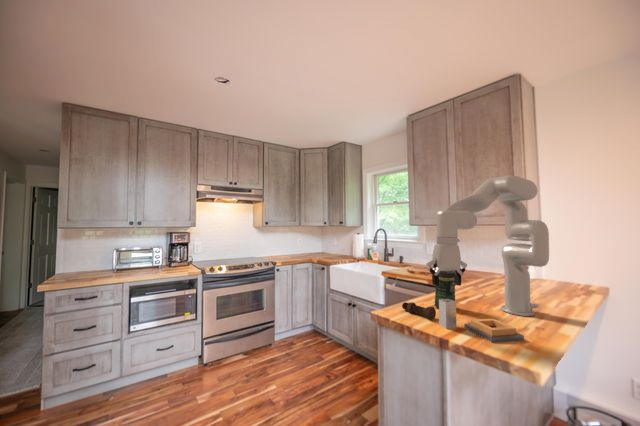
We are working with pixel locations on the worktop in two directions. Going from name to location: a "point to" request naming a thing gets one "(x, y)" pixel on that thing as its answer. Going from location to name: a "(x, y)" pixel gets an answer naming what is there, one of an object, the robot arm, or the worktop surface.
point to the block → (447, 313)
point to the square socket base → (494, 330)
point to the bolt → (420, 310)
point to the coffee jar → (445, 287)
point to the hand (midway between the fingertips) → (446, 285)
